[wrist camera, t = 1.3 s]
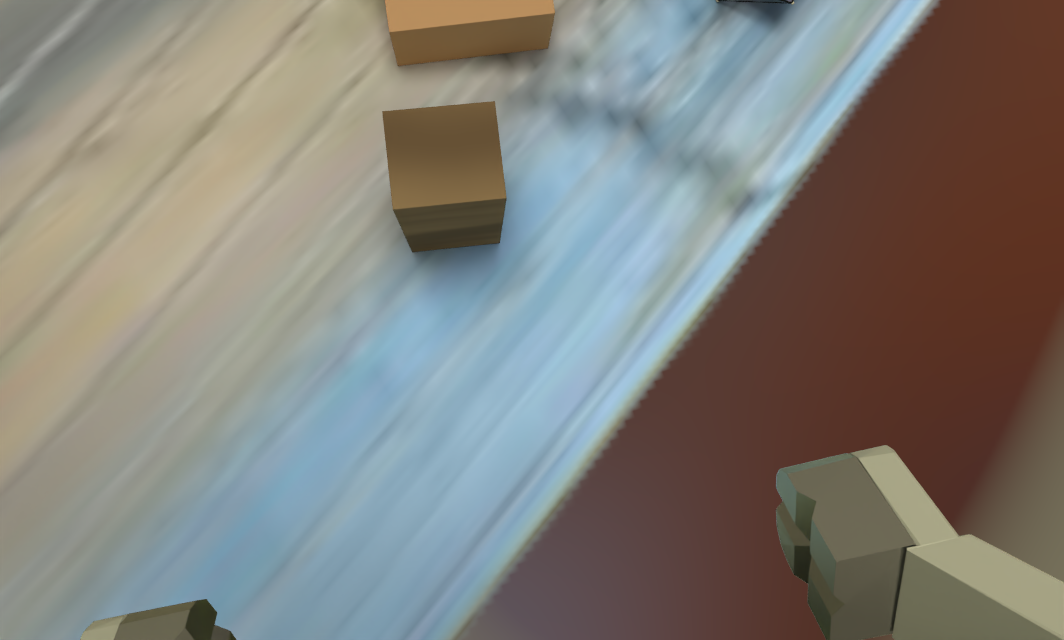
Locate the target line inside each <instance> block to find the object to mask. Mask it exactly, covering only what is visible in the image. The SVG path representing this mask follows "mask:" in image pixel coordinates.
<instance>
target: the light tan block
mask: <svg viewBox="0 0 1064 640" xmlns="http://www.w3.org/2000/svg"><path fill="white" fill-rule="evenodd" d="M385 4H386V11H387V18H388V25H389V32H390V36H391V40H392V44H393V48H394V52H395V56H396V60H397V64H398V66H402V65H411V64H419V63H428V62H436V61H445V60H453V59H461V58H470V57H478V56H487V55H495V54H504V53H512V52H521V51H529V50H537V49H546V48H548V46H549V41H550V36H551V31H552V26H553V20H554V15H555V10H554V4H553V0H385Z"/></svg>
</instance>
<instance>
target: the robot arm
mask: <svg viewBox="0 0 1064 640" xmlns="http://www.w3.org/2000/svg"><path fill="white" fill-rule="evenodd" d="M776 488H777V490H778V492H779V494H780V496H781V498H782V500H783V502H782V503H781V504H780V505H779V506H778V508H777V509H776V520H777V529H778V534H779V538H780V543H781V546H782V548H783V551H784V554H785V557H786V559H787V561H788V563H789V565H790V568H791V570H792V572H793V574H794V575H795V576H797V577H798V578H800V579H802V580H803V581H805V582H806V583H808V604H809V606H810V608H811V610H812V612H813V614H814V616H815V618H816V620H817V622H818V624H819V626H820V628H821V630H822V632H823V634H824V636H825V638H826V640H862V639H868V638H873V637H878V636H883V635H888V634H893V635H892V637H893V638H894V639H895V640H1064V582H1062V581H1060V580H1058V579H1056V578H1054V577H1052V576H1050V575H1048V574H1047V573H1045V572H1043V571H1041V570H1039V569H1037V568H1035V567H1033V566H1031V565H1029V564H1027V563H1025V562H1023V561H1021V560H1019V559H1017V558H1016V557H1014V556H1012V555H1010V554H1008V553H1006V552H1004V551H1002V550H1000V549H998V548H996V547H994V546H992V545H990V544H988V543H986V542H984V541H983V540H981V539H978V538H977V537H975V536H973V535H971V534H969V535H963V536H959V535H958V534H957V533H956V532H955V530H954V529H953V528H952V526H951V525H950V524H949V522H948V521H947V520H946V518H945V517H944V516H943V514H942V513H941V512H940V510H939V509H938V508H937V507H936V505H935V504H934V502H933V501H932V500H931V499H930V497H929V496H928V495H927V493H926V492H925V491H924V489H923V488H922V487H921V485H920V484H919V483H918V481H917V480H916V479H915V477H914V476H913V475H912V473H911V472H910V471H909V470H908V468H907V467H906V465H905V464H904V463H903V462H902V460H901V459H900V458H899V456H898V455H897V454H896V452H895V451H894V450H893V449H892V448H890V447H888V446H887V445H884V446H880V447H875V448H871V449H866V450H862V451H857V452H853V453H850V454H846V453H845V454H841V455H837V456H833V457H828V458H824V459H820V460H816V461H812V462H807V463H804V464H799V465H795V466H791V467H786V468H782V469H779V471H778V473H777V483H776ZM216 616H217V612H216V611H215V609H214V608H213V607H212V606H211V604H210V603H209V602H208V601H207V599H204V600H197V601H192V602H187V603H182V604H177V605H172V606H166V607H161V608H156V609H151V610H146V611H141V612H136V613H131V614H127V615H122V616H117V617H112V618H108V619H103V620H98V621H93V623H92V624H91V625H90V626H89V627H88V628H87V629H86V630H85V631H84V632H83V634H82V636H81V639H80V640H236V638H235V637H234V636H233V634H232V633H231V631H229V630H226V629H224V628H221V627H219V626H216V625H214V624H215V620H216Z"/></svg>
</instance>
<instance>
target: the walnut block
mask: <svg viewBox="0 0 1064 640" xmlns="http://www.w3.org/2000/svg"><path fill="white" fill-rule="evenodd" d="M382 113H383V122H384V131H385V140H386V150H387V159H388V168H389V178H390V187H391V196H392V206H393V211H394V213H395V215H396V217H397V220H398V222H399V224H400V226H401V228H402V230H403V233H404V235H405V237H406V239H407V241H408V244H409V246H410V248H411V250H412V252H418V251H428V250H437V249H447V248H456V247H466V246H475V245H484V244H494V243H500V237H501V231H502V224H503V217H504V211H505V204H506V190H505V182H504V174H503V166H502V157H501V149H500V141H499V133H498V124H497V116H496V108H495V101H493V102H482V103H471V104H460V105H449V106H438V107H427V108H416V109H405V110H393V111H382Z"/></svg>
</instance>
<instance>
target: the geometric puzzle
mask: <svg viewBox="0 0 1064 640" xmlns="http://www.w3.org/2000/svg"><path fill="white" fill-rule="evenodd" d="M719 1H725V0H716V2H719ZM781 1H784V2H788V3H791V4H792V5H793V4H794V0H787V1H786V0H781ZM736 2H753V1H736ZM764 3H781V2H764Z"/></svg>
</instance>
